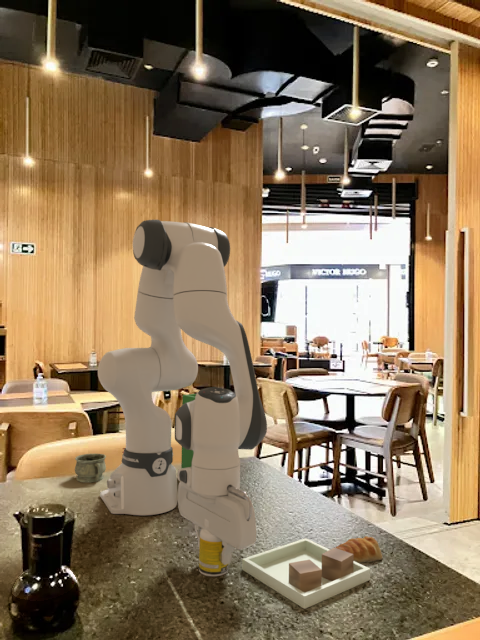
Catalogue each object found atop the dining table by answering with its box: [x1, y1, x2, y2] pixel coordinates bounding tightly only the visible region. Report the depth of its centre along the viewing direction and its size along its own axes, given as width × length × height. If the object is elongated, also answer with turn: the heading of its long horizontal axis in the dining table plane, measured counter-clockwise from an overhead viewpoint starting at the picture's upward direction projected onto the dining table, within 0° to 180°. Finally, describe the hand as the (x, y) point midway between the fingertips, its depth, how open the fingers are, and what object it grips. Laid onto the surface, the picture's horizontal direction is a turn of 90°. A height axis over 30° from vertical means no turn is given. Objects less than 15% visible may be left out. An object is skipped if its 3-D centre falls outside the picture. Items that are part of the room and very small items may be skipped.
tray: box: [241, 537, 371, 610], centre depth 92 cm, size 16×16×2 cm
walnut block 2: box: [322, 547, 354, 581], centre depth 91 cm, size 4×4×4 cm
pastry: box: [335, 535, 383, 564], centre depth 100 cm, size 9×7×4 cm
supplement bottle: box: [198, 519, 230, 577], centre depth 94 cm, size 5×5×10 cm
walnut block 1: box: [289, 560, 322, 593], centre depth 86 cm, size 4×4×4 cm
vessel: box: [74, 453, 107, 483], centre depth 149 cm, size 12×9×6 cm
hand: (214, 555), depth 94 cm, fingers closed on supplement bottle, 5 cm apart
